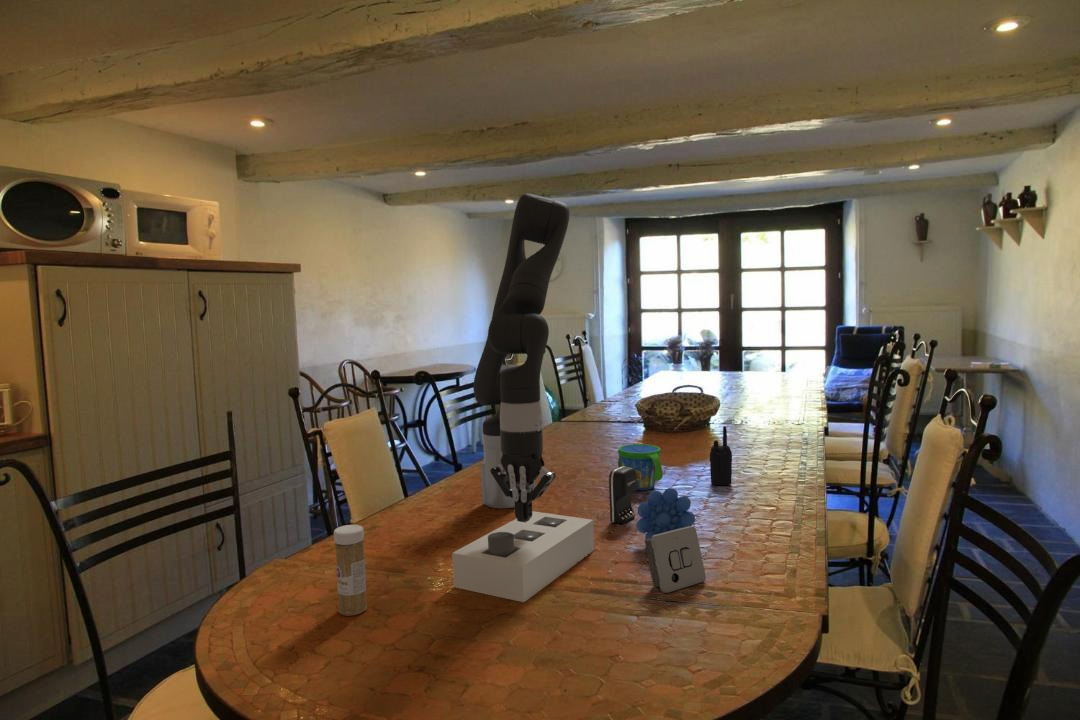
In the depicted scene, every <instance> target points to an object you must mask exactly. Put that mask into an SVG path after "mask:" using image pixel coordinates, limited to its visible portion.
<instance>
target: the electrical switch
mask: <svg viewBox="0 0 1080 720" xmlns="http://www.w3.org/2000/svg"><path fill="white" fill-rule="evenodd" d="M644 546H645V549H646V555H647V559H648V564H649V570H650V575H651V579H652V580H651V581H652V585H653V587H657V588H660V589H659V590H660V591H661V592H662V593H663V594H665V593H667V594H668V593H672V592H675V591H677V590H681V589H684V588H688V587H691V586H694V585H696V584H701V583H704V582H705V581H706V578H707V575H706V570H705V566H704V560H703V556H702V553H701V548H700V542H699V539H698V533H697V528H696V527H694V526H693V525H692V526H688V527H684V528H680V529H676V530H672V531H668V532H665V533H661V534H657V535H653V536H652V538H651V539H647V540H645V539H644Z"/></svg>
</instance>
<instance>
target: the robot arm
mask: <svg viewBox="0 0 1080 720" xmlns="http://www.w3.org/2000/svg"><path fill="white" fill-rule="evenodd" d="M513 213H514V214H513V219H512V223H511V229H510V230H511V231H510V236H509V242H508V248H507V254H506V258H505V263H504V267H503V272H502V276H501V279H500V283H499V287H498V290H497V294H496V297H495V302H494V304H493V311H492V317H491V319H490V323H489V326H488V330H487V337H486V341H485V344H484V347H483V351H482V353H481V356H480V359H479V361H478V364H477V368H476V370H475V374H474V377H473V390H472V391H473V394H474V395H473V396H474V398H475V400H476V402H478V404H479V405H482V406H496V405H497V406H498V405H500V408H499V410H498V411H497V412H496V413H494V414H493V415H492V416H490V417H488V418H486V419H485V420H484V421H483V423H482V442H483V443H482V444H483V445H482V447H483V463H482V464H481V465H480V480H481V481H480V482H481V483H480V484H481V503H482V505H485V506H487V507H489V508H492V509H512V508H514V516H515V519H517V521H519V522H527V521H529V520H530V518H531V517H532V511H533V501H535V500H536V499H539V498H541V497H542V496H543V494H544V493H545V492H546V491H547V490H548V487H549V486H550V485H551V484H552V483H553V481H554V479H556V477H557V475H556V473H555V472H554V471H550V470H549V469H548V468H546V466H545V464H546V463H545V461H544V459H543V450H544V446H543V445H544V440H543V438H544V437H543V425H544V424H543V411H542V406H541V404H542V403H541V370H542V366H543V359H544V355H545V351H546V349H547V344H548V340H549V334H550V330H549V329H550V328H549V325H548V322H547V320H546V319H545V317H543V316H542V315H541V314H542V312H543V311H544V308H545V304H546V299H547V294H548V289H549V283H550V280H551V277H552V275H553V271H554V268H555V266H556V263H557V261H558V258H559V255H560V252H561V250H562V247H563V244H564V241H565V238H566V234H567V230H568V226H569V222H570V208H569V206H568V205H567V203H564V202H562V201H559V200H556V199H552V198H548V197H544V196H539V195H537V194H533V193H523V194H522V195H521V196H520V197H519V198H518V200H517V203H516V207H515V209H514V212H513ZM525 241H529V242H533V243H538V244H541V245H544V246H542V247H541V248H540V249H539V250H538V251H536V252H535V253H533V254H531V255H530V256H529V257H526V248H525ZM524 354H526V355H527V356H526V359H525V361H524V363H523V364H521V365H515V364H513V363H512V364H511V363H509V364H508V363H507V364H503V363H504V362H505V360H506V358H507V357H508V355H524ZM537 478H538V483H537V484H536V480H537Z"/></svg>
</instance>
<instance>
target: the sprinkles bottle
mask: <svg viewBox="0 0 1080 720" xmlns="http://www.w3.org/2000/svg"><path fill="white" fill-rule="evenodd" d="M364 538H365V531H364V527H363V526H361V525H359V524H346V525H341V526H339V527H337V528H335V529H334V531H333V542H334V544H335V552H336V553H335V554H336V555H335V556H336V579H337V580H336V582H337V583H336V585H337V595H338V610H337V611H338V613H339V614H340V615H342V616H347V617H350V616H351V617H352V616H357V615H359V614H362V613H363V612H366V611H367V609H368V604H367V593H366V592H367V590H366V589H367V583H366V582H367V581H366V563H365V555H364V554H365V552H364V551H365V550H364Z"/></svg>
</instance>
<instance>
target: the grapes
mask: <svg viewBox="0 0 1080 720" xmlns="http://www.w3.org/2000/svg"><path fill="white" fill-rule="evenodd" d="M691 502H692V501H691V499H690V498H689V497H688V496H684V495H682V496H680V497H679V492H678V491H677V489H675V488H674V487H668V488H666V489H665V490H664V491H663V492H661V491H660V490H655V489H654V490H652V491H651V492H649V494H648V495H647V501H644V502H641V503H640V504H639V506H637V514H638V516H639V517H640V518H639V519H638V521H637V522H636V529H637V531H638V532H639V533H640V534H645V538H644V541H645V540H647V539H651V538H652V536H653V535H657V534H661V533H665V532H668V531H672V530H676V529H680V528H684V527H688V526H693V525H694V524H695V520H696V516H695V514H694V513H693V512H692V511H689V510H690V509H691Z"/></svg>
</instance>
